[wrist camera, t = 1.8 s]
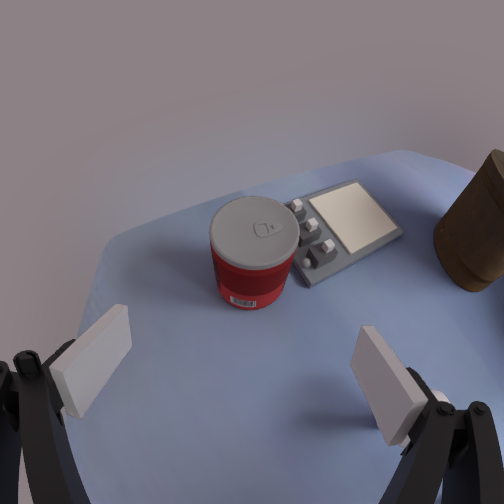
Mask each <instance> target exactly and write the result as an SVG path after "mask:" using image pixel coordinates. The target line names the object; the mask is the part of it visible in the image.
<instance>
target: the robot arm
mask: <svg viewBox="0 0 504 504" xmlns="http://www.w3.org/2000/svg"><path fill="white" fill-rule="evenodd" d="M131 347H132V342H131V334H130V326H129V317H128V307H127V305H121V304H115V305H114V306H113V307H111V308H110V309H109V310H108V311H107V312H106V313H105V314H104V315H103V316H102V317H100V318H99V319H98V320H97V321H96V322H95V323H94V324H93V325H92V326H91V327H90V328H89V329H88V330H86V331H85V332H84V333H83V334H82V335H81V336H80V337H79V338H78V339H77V340H75V339H72V340H70V341H68V342H66V343H64V344H63V345H62V346H61V347H60V348H59V349H58V350H57V351H56V352H55V354H53V355H52V356H51V357H49V358H48V359H47V360H46V361H45V362H44V363H43V364H42V365H41V362H40V359H39V356H38V354H37V353H36V352H34V351H31V350H26V351H22V352H20V353H18V354H17V355H15V357H14V359H13V362H14V365H15V367H16V370H17V372H18V373H17V372H12V371H10V370H9V367H8V365H7V363H6V362H3V361H0V504H18V481H19V465H20V456H21V448H22V449H23V456H24V462H25V468H26V474H27V478H28V483H29V488H30V492H31V496H32V499H33V503H34V504H91V503H90V501H89V498H88V496H87V494H86V491H85V489H84V486H83V484H82V481H81V478H80V476H79V473H78V470H77V467H76V464H75V461H74V458H73V455H72V451H71V448H70V444H69V441H68V437H67V433H66V429H65V425H64V421H63V416H62V414H61V411H60V410H61V408H62V407H63V406H64V407H65V409H66V411H67V413H68V415H71V416H73V417H76V418H78V419H80V420H81V419H82V418H83V416H84V415H85V413H86V412H87V410H88V409H89V407H90V406H91V404H92V403H93V401H94V400H95V398H96V397H97V395H98V394H99V393H100V391H101V390H102V388H103V387H104V385H105V384H106V382H107V381H108V380H109V378H110V377H111V375H112V374H113V372H114V371H115V370H116V368H117V367H118V365H119V364H120V363H121V361H122V360H123V358H124V357H125V356H126V354H127V353H128V351H129V350H130V349H131ZM350 366H351V368H352V370H353V372H354V374H355V376H356V378H357V381H358V383H359V385H360V387H361V389H362V391H363V393H364V395H365V398H366V400H367V402H368V404H369V406H370V408H371V411H372V413H373V415H374V417H375V419H376V422H377V424H378V426H379V428H380V430H381V433H382V435H383V437H384V439H385V442H386V444H387V446H392V445H397V444H401V443H402V442H403V441H404V439H405V438H406V436H407V435H408V436H409V438H410V442H409V443H408V445H407V446H406V448H405V449H404V450H403V452H402V453H401V454H400V455H403V456H402V459H401V461H400V463H399V465H398V467H397V469H396V471H395V474H394V476H393V478H392V480H391V482H390V483H389V485H388V487H387V489H386V491H385V493H384V495H383V496H382V498H381V500H380V502H379V503H378V504H434V502H435V499H436V497H437V494H438V491H439V488H440V485H441V481H442V478H443V487H442V502H441V504H504V468H503V462H502V456H501V451H500V446H499V441H498V437H497V433H496V429H495V425H494V421H493V417H492V414H491V410H490V408H489V407H488V406H487V405H486V404H485V403H483V402H479V401H474V402H472V403H471V404H470V406H469V407H468V409H467V410H456V409H455V407H454V406H453V405H452V404H450V403H448V402H445V401H438V400H437V398H436V397H435V396H434V394H433V393H432V392H431V390H430V389H429V387H428V386H427V385H426V383H425V382H424V381H423V380H422V378H421V377H420V376H419V374H418V373H417V372H416V371H414V370H413V369H411V368H410V367H408V368H405V367H404V365H403V364H402V363H401V361H400V360H399V359H398V357H397V356H396V355H395V353H394V352H393V351H392V349H391V348H390V347H389V345H388V344H387V343H386V341H385V340H384V339H383V337H382V336H381V335H380V334H379V332H378V331H377V330H376V328H375V327H374V326H361V329H360V333H359V337H358V340H357V344H356V347H355V350H354V354H353V357H352V360H351V364H350Z"/></svg>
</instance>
